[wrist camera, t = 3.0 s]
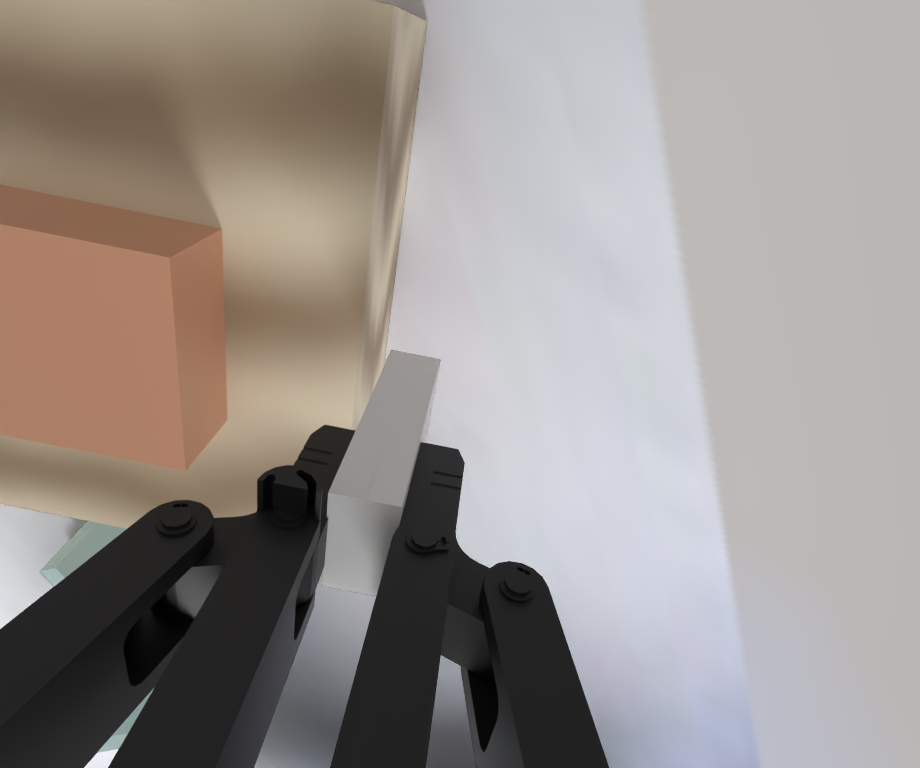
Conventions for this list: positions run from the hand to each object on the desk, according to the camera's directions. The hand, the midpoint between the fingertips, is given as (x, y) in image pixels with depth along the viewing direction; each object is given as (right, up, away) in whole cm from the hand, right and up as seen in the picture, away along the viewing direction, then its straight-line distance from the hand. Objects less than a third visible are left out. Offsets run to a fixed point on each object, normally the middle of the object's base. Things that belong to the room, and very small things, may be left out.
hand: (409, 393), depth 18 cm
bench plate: (-10, +6, +7) cm, 13 cm away
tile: (-10, +3, +1) cm, 10 cm away
